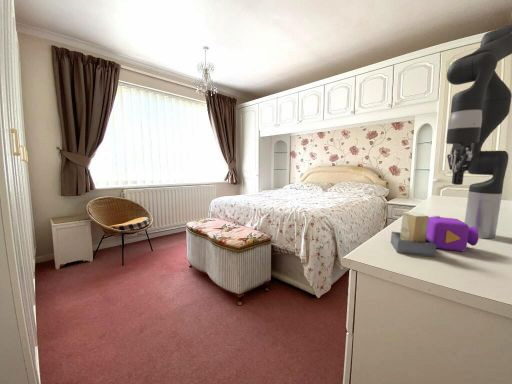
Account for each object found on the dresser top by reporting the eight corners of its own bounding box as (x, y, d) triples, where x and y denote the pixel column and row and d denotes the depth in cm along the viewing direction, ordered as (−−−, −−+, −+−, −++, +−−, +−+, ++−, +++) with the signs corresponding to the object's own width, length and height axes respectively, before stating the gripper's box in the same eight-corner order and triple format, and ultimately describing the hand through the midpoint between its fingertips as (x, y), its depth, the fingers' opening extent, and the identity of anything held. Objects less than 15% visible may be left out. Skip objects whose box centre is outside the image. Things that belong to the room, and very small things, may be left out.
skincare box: (398, 246, 78) (401, 211, 77) (410, 246, 79) (414, 211, 77) (412, 253, 72) (416, 215, 70) (425, 253, 72) (429, 215, 71)
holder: (390, 242, 82) (391, 231, 82) (423, 246, 79) (425, 234, 78) (397, 252, 73) (398, 240, 72) (434, 257, 69) (436, 244, 69)
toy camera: (484, 254, 72) (489, 224, 71) (435, 251, 75) (439, 221, 73) (461, 243, 82) (465, 216, 81) (419, 240, 85) (422, 213, 84)
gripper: (492, 123, 62) (484, 187, 64) (468, 129, 74) (461, 182, 76) (458, 125, 64) (450, 186, 67) (440, 130, 77) (434, 181, 79)
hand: (456, 184), depth 72 cm, fingers closed
